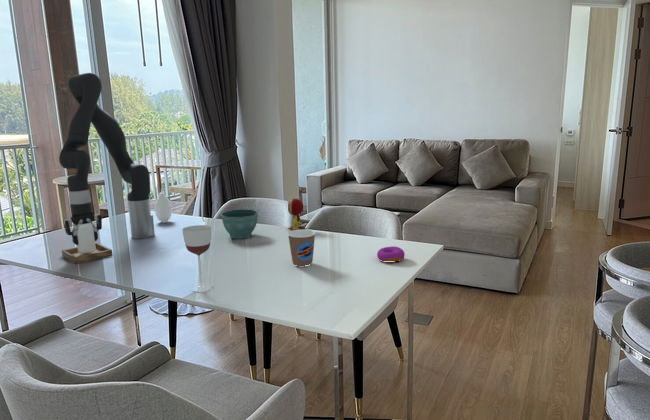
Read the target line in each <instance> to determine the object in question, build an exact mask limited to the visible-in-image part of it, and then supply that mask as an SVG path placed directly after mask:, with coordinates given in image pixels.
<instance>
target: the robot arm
mask: <svg viewBox="0 0 650 420" xmlns="http://www.w3.org/2000/svg"><path fill="white" fill-rule="evenodd" d="M67 84H68V89H69V91H70V93H71V95H72V96H73V98H74V99H75V101H76V102H77V104H78V105H79V107H78V108H77V110H76V112H75V113H74V115H73V117H72V118H71V121H70V124H69V128H68V133H67V134H68V135H67V139H66V141H65V143H64V145H63V147H62V149H61V150H60V152H59V156H58V160H59V164H60V166H61V167H62V168H64V169H67V170H72V169H73V170H75V169H77V171H76V173H75V174H70V175H69V176H68V177H67V180H66V181H67V182H66V183H67V188H68V199H69V200H68V201H69V202H68V203H69V208H70V215H71V216H70V218H68V219H63V221H62V222H63V227H64V231H65V234H66V235H68V236H71V238H72V243H73V244H74V245H76V246H77V245H78V237H77V230H78V227H79V224H84V223H89V222H91V224H92V226H93V230H94V238H95V242H97V240H98V239H99V234H98V232H99V230H102V228H103V223H102V222H103V218H102V214H99V213H96V214H94V213H93V205H92V197H91V193H90V187H89V180H88V179H89V171H90V165H91V157H90V154H89V153H88V151H86V150H82V149H81V148H83V147H86V146H87V145H88V142H89V137H90V128H91V124H92V125H93V127H94V129H95V130H96V132H97V135H98V136H99V138H100V140H101V142H102V143H103V144H104V146H105V148H106V149H107V151H108V153H109V154H110V156H111V157H112V160H113V161H114V163H115V166H116V167H117V170H118V172H119V175H120V176H121V178H122V180H123V181H124V182H125V183H127V184H130V185H131V191H130V192H129V193H127V195H126V196H127V205H128V206H127V207H128V214H129V217H128V218H129V225H130V234H131V238H132V239H146V238H150V237H151V238H152V236H155V235H156V234H155V224H154V215H153V214H152V212H151V202H150V201H151V200H150V193H151V176H150V170H149V168H148V167H147V166H146V165H145V164H141V163H140V164H139V163H135V162H134V161H133V159H132V158H131V156H130V154H129V152H128V150H127V140H126V135H125V133H124V131H123V129H122V128H121V126H120V124H119V122H118V121H117V120H116V119H115V118H114V117H113V116H112V115H111V114H110V113H108V112H107V111H106V110H104V109H103V108H102V107H101V106H100V105H99V104H98V102H99V98H100V96H101V92H102V88H103V85H102V81H101V78H100V77H99V76H98V75H97V73H95V72H85V73H81V74H76V75H73V76H71V77H69V79H68V82H67ZM80 149H81V150H80ZM94 220H95V221H96V226H95V224H93V223H94V222H93V221H94ZM71 223H73V227H72V230H71V227H70V226H71ZM75 225H76V228H75Z"/></svg>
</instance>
